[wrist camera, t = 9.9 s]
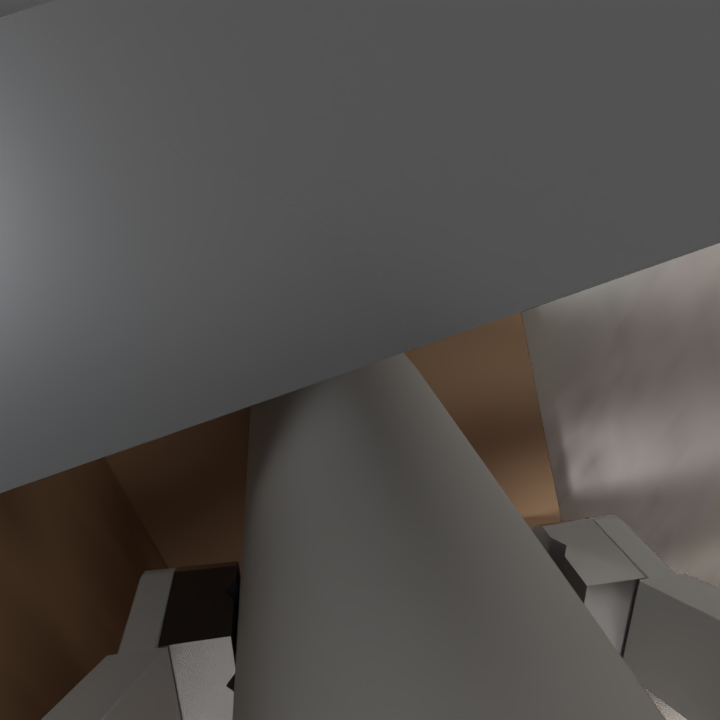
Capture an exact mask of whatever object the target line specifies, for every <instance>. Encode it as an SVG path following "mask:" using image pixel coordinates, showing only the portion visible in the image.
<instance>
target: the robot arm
mask: <svg viewBox="0 0 720 720" xmlns="http://www.w3.org/2000/svg"><path fill="white" fill-rule="evenodd" d="M532 531H533V533H534V534H535V536H536V537H537V539H538V540H539V541H540V543H541V544H542V546H543V547H544V548H545V550H546V551H547V553H548V554H549V555H550V557H551V558H552V560H553V561H554V562H555V564H556V565H557V567H558V568H559V570H560V571H561V572H562V574H563V575H564V577H565V578H566V579H567V581H568V582H569V584H570V585H571V586H572V588H573V589H574V591H575V592H576V594H577V595H578V596H579V598H580V599H581V601H582V602H583V603H584V605H585V606H586V608H587V609H588V610H589V612H590V613H591V615H592V616H593V618H594V619H595V620H596V622H597V623H598V625H599V626H600V627H601V629H602V630H603V632H604V633H605V634H606V636H607V637H608V639H609V640H610V641H611V643H612V644H613V646H614V647H615V649H616V650H617V651H618V653H619V654H620V656H621V657H622V658H623V660H624V661H625V663H626V664H627V665H628V667H629V668H630V670H631V671H632V673H633V674H634V675H635V677H636V678H637V680H638V681H639V682H640V684H641V685H642V686H644V687H645V688H646V689H648V690H649V691H650V692H652V693H653V694H654V695H656V696H657V697H658V698H660V699H661V700H662V701H664V702H665V703H666V704H668V705H669V706H670V707H672V708H673V709H674V710H676V711H677V712H678V713H680V714H681V715H682V716H684V717H685V718H686V719H688V720H720V589H717V588H715V587H713V586H711V585H709V584H706V583H704V582H702V581H700V580H698V579H695V578H693V577H691V576H689V575H687V574H678V575H676V574H675V573H674V572H673V571H672V570H671V569H670V568H669V567H668V566H667V565H666V564H665V563H664V562H663V561H662V560H661V559H660V558H659V557H658V556H657V555H656V553H655V552H654V551H653V550H652V549H651V548H650V547H649V546H648V545H647V544H646V543H645V542H644V541H643V540H642V539H641V538H640V537H639V536H638V535H637V534H636V533H635V532H634V531H633V530H632V529H631V528H630V527H629V526H628V525H627V524H626V523H625V522H624V521H623V520H622V519H621V518H620V517H618V516H616V515H613V514H609V515H602V516H595V517H588V518H586V519H578V520H570V521H563V522H555V523H547V524H539V525H534V527H533V529H532ZM240 582H241V575H240V568H239V563H238V561H234V562H224V563H214V564H204V565H194V566H184V567H177V568H169V569H159V570H149V571H145V572H144V574H143V575H142V576H141V578H140V580H139V584H138V587H137V590H136V594H135V597H134V600H133V603H132V607H131V610H130V613H129V617H128V620H127V623H126V627H125V630H124V633H123V636H122V640H121V643H120V646H119V650H118V653H117V654H114V655H107V656H106V657H105V658H104V659H103V660H102V661H101V662H100V663H99V664H98V665H97V666H96V667H95V668H94V669H93V670H92V671H91V672H90V673H88V674H87V675H86V676H85V677H84V678H83V679H82V680H81V681H80V682H79V683H78V684H77V685H76V686H75V687H74V688H73V689H72V690H71V691H70V692H69V693H68V694H67V695H66V696H65V697H64V698H63V699H62V700H61V701H60V702H59V703H58V704H57V705H56V706H55V707H53V708H52V709H51V710H50V711H49V712H48V713H47V714H46V715H45V716H44V717H43V718H42V719H41V720H232V719H233V702H234V684H235V667H236V650H237V633H238V616H239V599H240Z"/></svg>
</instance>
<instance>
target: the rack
mask: <svg viewBox="0 0 720 720" xmlns="http://www.w3.org/2000/svg"><path fill="white" fill-rule="evenodd" d="M404 354H405V355H406V356H407V357H408V359H409V360H410V361H411V362H412V363H413V364H414V365H415V367H416V368H417V369H418V371H419V372H420V373H421V375H422V376H423V378H424V379H425V381H426V382H427V383H428V385H429V386H430V388H431V389H432V390H433V392H434V393H435V395H436V396H437V397H438V399H439V400H440V402H441V403H442V405H443V406H444V407H445V409H446V410H447V412H448V413H449V414H450V416H451V417H452V419H453V420H454V421H455V423H456V424H457V426H458V427H459V428H460V430H461V431H462V433H463V434H464V436H465V437H466V438H467V440H468V441H469V443H470V444H471V445H472V447H473V448H474V450H475V451H476V452H477V454H478V455H479V457H480V458H481V460H482V461H483V462H484V464H485V465H486V467H487V468H488V469H489V471H490V472H491V474H492V475H493V476H494V478H495V479H496V481H497V482H498V484H499V485H500V486H501V488H502V489H503V491H504V492H505V493H506V495H507V496H508V498H509V499H510V500H511V502H512V503H513V505H514V506H515V507H516V509H517V510H518V512H519V513H520V515H521V516H522V517H523V519H524V520H525V522H526V523H527V524H528V526H529V527H530V529H531V530H532V529H533V527H534V525H539V524H547V523H555V522H562V521H561V516H560V511H559V506H558V501H557V496H556V491H555V485H554V480H553V475H552V470H551V465H550V460H549V455H548V450H547V444H546V439H545V434H544V429H543V424H542V419H541V414H540V409H539V403H538V398H537V393H536V388H535V383H534V378H533V373H532V368H531V362H530V357H529V352H528V347H527V342H526V337H525V332H524V327H523V321H522V316H521V312H519V313H516V314H514V315H511V316H508V317H505V318H502V319H499V320H496V321H493V322H491V323H488V324H485V325H482V326H479V327H476V328H473V329H470V330H468V331H465V332H462V333H459V334H456V335H453V336H450V337H447V338H445V339H442V340H439V341H436V342H433V343H430V344H427V345H424V346H422V347H419V348H416V349H413V350H410V351H407V352H404ZM249 424H250V406H249V407H246V408H243V409H241V410H238V411H235V412H232V413H229V414H226V415H223V416H220V417H218V418H215V419H212V420H209V421H206V422H203V423H200V424H197V425H195V426H192V427H189V428H186V429H183V430H180V431H177V432H174V433H172V434H169V435H166V436H163V437H160V438H157V439H154V440H151V441H149V442H146V443H143V444H140V445H137V446H134V447H131V448H128V449H126V450H123V451H120V452H117V453H114V454H111V455H108V456H105V457H103V458H100V459H97V460H94V461H91V462H88V463H85V464H82V465H80V466H77V467H74V468H71V469H68V470H65V471H62V472H59V473H57V474H54V475H51V476H48V477H45V478H42V479H39V480H37V481H34V482H31V483H28V484H25V485H22V486H19V487H16V488H14V489H11V490H8V491H5V492H2V493H0V720H41V719H42V718H43V717H44V716H45V715H46V714H47V713H48V712H49V711H50V710H51V709H52V708H53V707H55V706H56V705H57V704H58V703H59V702H60V701H61V700H62V699H63V698H64V697H65V696H66V695H67V694H68V693H69V692H70V691H71V690H72V689H73V688H74V687H75V686H76V685H77V684H78V683H79V682H80V681H81V680H82V679H83V678H84V677H85V676H86V675H87V674H88V673H90V672H91V671H92V670H93V669H94V668H95V667H96V666H97V665H98V664H99V663H100V662H101V661H102V660H103V659H104V658H105V657H106V656H107V655H114V654H117V653H118V650H119V646H120V643H121V640H122V636H123V633H124V630H125V627H126V623H127V620H128V617H129V613H130V610H131V607H132V603H133V600H134V597H135V594H136V590H137V587H138V584H139V580H140V578H141V576H142V575H143V574H144V572H145V571H149V570H159V569H169V568H177V567H184V566H194V565H204V564H214V563H224V562H234V561H238V563H239V568H240V575H241V565H242V548H243V530H244V513H245V495H246V477H247V460H248V442H249Z"/></svg>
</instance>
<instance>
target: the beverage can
mask: <svg viewBox="0 0 720 720" xmlns="http://www.w3.org/2000/svg"><path fill="white" fill-rule="evenodd" d="M232 720H666V719H665V718H664V716H663V715H662V713H661V712H660V711H659V709H658V708H657V706H656V705H655V704H654V702H653V701H652V699H651V698H650V696H649V695H648V694H647V692H646V691H645V689H644V688H643V687H642V685H641V684H640V682H639V681H638V680H637V678H636V677H635V675H634V674H633V673H632V671H631V670H630V668H629V667H628V665H627V664H626V663H625V661H624V660H623V658H622V657H621V656H620V654H619V653H618V651H617V650H616V649H615V647H614V646H613V644H612V643H611V641H610V640H609V639H608V637H607V636H606V634H605V633H604V632H603V630H602V629H601V627H600V626H599V625H598V623H597V622H596V620H595V619H594V618H593V616H592V615H591V613H590V612H589V610H588V609H587V608H586V606H585V605H584V603H583V602H582V601H581V599H580V598H579V596H578V595H577V594H576V592H575V591H574V589H573V588H572V586H571V585H570V584H569V582H568V581H567V579H566V578H565V577H564V575H563V574H562V572H561V571H560V570H559V568H558V567H557V565H556V564H555V562H554V561H553V560H552V558H551V557H550V555H549V554H548V553H547V551H546V550H545V548H544V547H543V546H542V544H541V543H540V541H539V540H538V539H537V537H536V536H535V534H534V533H533V531H532V530H531V529H530V527H529V526H528V524H527V523H526V522H525V520H524V519H523V517H522V516H521V515H520V513H519V512H518V510H517V509H516V507H515V506H514V505H513V503H512V502H511V500H510V499H509V498H508V496H507V495H506V493H505V492H504V491H503V489H502V488H501V486H500V485H499V484H498V482H497V481H496V479H495V478H494V476H493V475H492V474H491V472H490V471H489V469H488V468H487V467H486V465H485V464H484V462H483V461H482V460H481V458H480V457H479V455H478V454H477V452H476V451H475V450H474V448H473V447H472V445H471V444H470V443H469V441H468V440H467V438H466V437H465V436H464V434H463V433H462V431H461V430H460V428H459V427H458V426H457V424H456V423H455V421H454V420H453V419H452V417H451V416H450V414H449V413H448V412H447V410H446V409H445V407H444V406H443V405H442V403H441V402H440V400H439V399H438V397H437V396H436V395H435V393H434V392H433V390H432V389H431V388H430V386H429V385H428V383H427V382H426V381H425V379H424V378H423V376H422V375H421V373H420V372H419V371H418V369H417V368H416V367H415V365H414V364H413V363H412V362H411V361H410V360H409V359H408V357H407V356H406V355H405V354H404V353H401V354H399V355H396V356H393V357H390V358H387V359H384V360H381V361H378V362H376V363H373V364H370V365H367V366H364V367H361V368H358V369H355V370H353V371H350V372H347V373H344V374H341V375H338V376H335V377H332V378H330V379H327V380H324V381H321V382H318V383H315V384H312V385H309V386H307V387H304V388H301V389H298V390H295V391H292V392H289V393H287V394H284V395H281V396H278V397H275V398H272V399H269V400H266V401H264V402H261V403H258V404H255V405H252V406H250V424H249V442H248V460H247V477H246V495H245V513H244V530H243V548H242V565H241V582H240V599H239V616H238V633H237V650H236V667H235V684H234V702H233V719H232Z"/></svg>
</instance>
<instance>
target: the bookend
mask: <svg viewBox="0 0 720 720" xmlns="http://www.w3.org/2000/svg"><path fill="white" fill-rule="evenodd" d="M718 243H720V0H0V493H2V492H5V491H8V490H11V489H14V488H16V487H19V486H22V485H25V484H28V483H31V482H34V481H37V480H39V479H42V478H45V477H48V476H51V475H54V474H57V473H59V472H62V471H65V470H68V469H71V468H74V467H77V466H80V465H82V464H85V463H88V462H91V461H94V460H97V459H100V458H103V457H105V456H108V455H111V454H114V453H117V452H120V451H123V450H126V449H128V448H131V447H134V446H137V445H140V444H143V443H146V442H149V441H151V440H154V439H157V438H160V437H163V436H166V435H169V434H172V433H174V432H177V431H180V430H183V429H186V428H189V427H192V426H195V425H197V424H200V423H203V422H206V421H209V420H212V419H215V418H218V417H220V416H223V415H226V414H229V413H232V412H235V411H238V410H241V409H243V408H246V407H249V406H252V405H255V404H258V403H261V402H264V401H266V400H269V399H272V398H275V397H278V396H281V395H284V394H287V393H289V392H292V391H295V390H298V389H301V388H304V387H307V386H309V385H312V384H315V383H318V382H321V381H324V380H327V379H330V378H332V377H335V376H338V375H341V374H344V373H347V372H350V371H353V370H355V369H358V368H361V367H364V366H367V365H370V364H373V363H376V362H378V361H381V360H384V359H387V358H390V357H393V356H396V355H399V354H401V353H404V352H407V351H410V350H413V349H416V348H419V347H422V346H424V345H427V344H430V343H433V342H436V341H439V340H442V339H445V338H447V337H450V336H453V335H456V334H459V333H462V332H465V331H468V330H470V329H473V328H476V327H479V326H482V325H485V324H488V323H491V322H493V321H496V320H499V319H502V318H505V317H508V316H511V315H514V314H516V313H519V312H522V311H525V310H528V309H531V308H534V307H537V306H539V305H542V304H545V303H548V302H551V301H554V300H557V299H560V298H562V297H565V296H568V295H571V294H574V293H577V292H580V291H582V290H585V289H588V288H591V287H594V286H597V285H600V284H603V283H605V282H608V281H611V280H614V279H617V278H620V277H623V276H626V275H628V274H631V273H634V272H637V271H640V270H643V269H646V268H649V267H651V266H654V265H657V264H660V263H663V262H666V261H669V260H672V259H674V258H677V257H680V256H683V255H686V254H689V253H692V252H695V251H697V250H700V249H703V248H706V247H709V246H712V245H715V244H718Z"/></svg>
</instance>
